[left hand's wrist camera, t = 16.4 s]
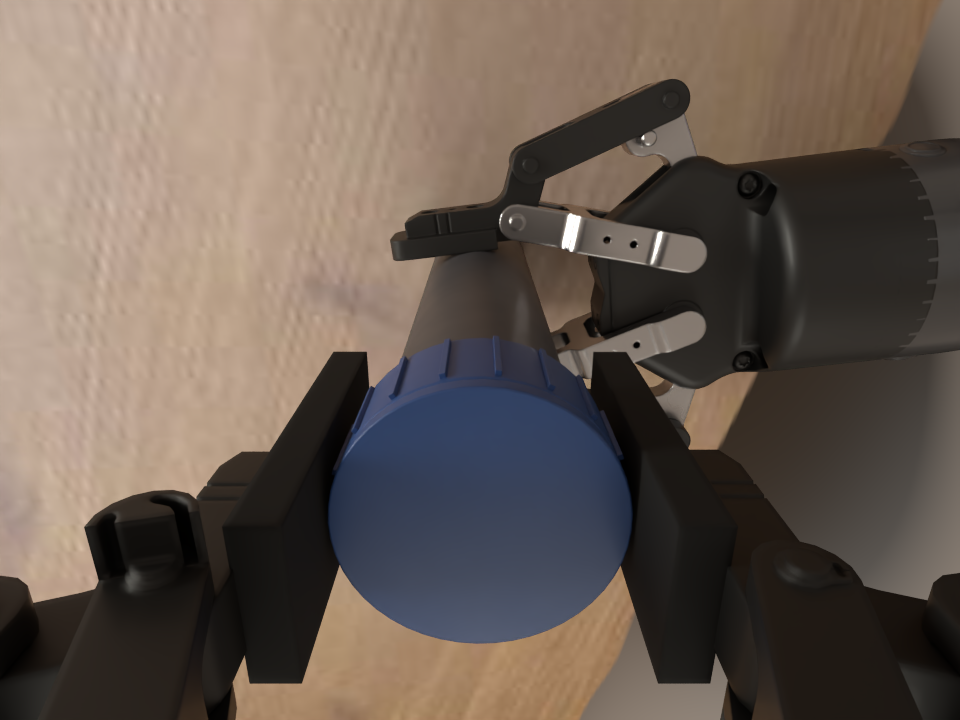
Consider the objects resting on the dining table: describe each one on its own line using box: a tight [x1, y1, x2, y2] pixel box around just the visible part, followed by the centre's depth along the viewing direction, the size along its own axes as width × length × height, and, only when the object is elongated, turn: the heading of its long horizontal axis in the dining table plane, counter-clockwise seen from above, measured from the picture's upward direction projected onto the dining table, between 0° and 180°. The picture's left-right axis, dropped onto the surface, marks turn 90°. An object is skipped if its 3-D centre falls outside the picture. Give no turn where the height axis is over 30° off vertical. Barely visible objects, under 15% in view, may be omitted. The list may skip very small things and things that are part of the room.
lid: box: [328, 336, 633, 644], centre depth 11 cm, size 5×5×2 cm
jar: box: [402, 240, 560, 363], centre depth 20 cm, size 4×4×20 cm
